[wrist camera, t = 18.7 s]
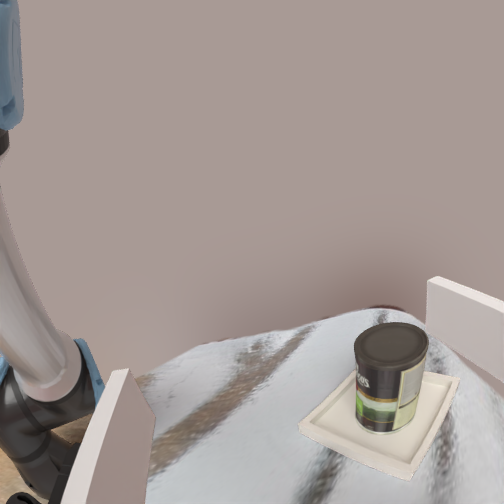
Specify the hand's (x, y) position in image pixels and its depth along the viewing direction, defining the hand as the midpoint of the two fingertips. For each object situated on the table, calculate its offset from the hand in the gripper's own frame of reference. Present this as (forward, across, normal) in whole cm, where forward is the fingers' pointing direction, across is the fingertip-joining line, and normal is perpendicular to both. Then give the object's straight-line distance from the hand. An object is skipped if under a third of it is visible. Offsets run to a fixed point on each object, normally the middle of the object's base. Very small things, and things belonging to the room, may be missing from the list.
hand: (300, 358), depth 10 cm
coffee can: (+16, +16, -29) cm, 37 cm away
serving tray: (+16, +16, -30) cm, 38 cm away
